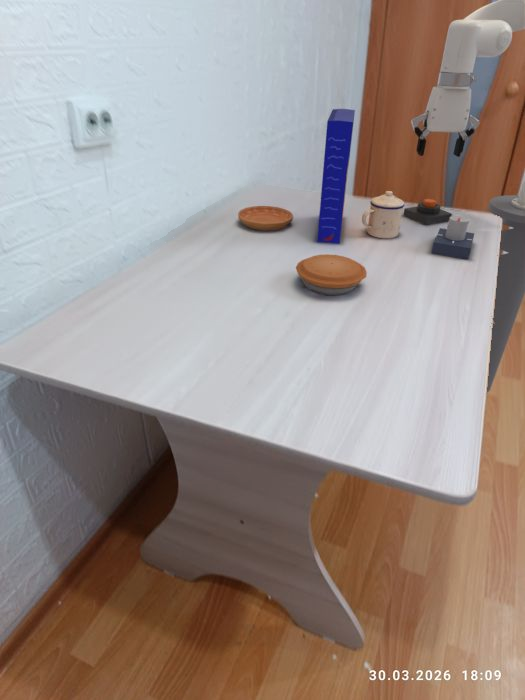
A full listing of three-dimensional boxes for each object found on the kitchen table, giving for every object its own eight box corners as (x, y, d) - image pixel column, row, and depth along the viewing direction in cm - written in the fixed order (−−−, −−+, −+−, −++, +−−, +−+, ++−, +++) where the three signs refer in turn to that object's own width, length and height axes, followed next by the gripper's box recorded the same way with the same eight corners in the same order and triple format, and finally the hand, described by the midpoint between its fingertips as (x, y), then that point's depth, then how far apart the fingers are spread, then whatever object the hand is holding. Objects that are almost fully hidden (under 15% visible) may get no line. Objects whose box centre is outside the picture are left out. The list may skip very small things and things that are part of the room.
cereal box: (339, 243, 128) (353, 120, 112) (317, 241, 129) (327, 119, 113) (342, 218, 146) (355, 109, 130) (323, 216, 147) (332, 108, 131)
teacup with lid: (386, 226, 141) (392, 185, 134) (405, 236, 134) (413, 194, 127) (351, 231, 137) (356, 189, 130) (369, 242, 130) (375, 199, 123)
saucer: (295, 217, 146) (295, 207, 145) (289, 235, 133) (289, 224, 131) (243, 213, 148) (243, 203, 146) (233, 230, 135) (232, 220, 133)
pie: (288, 294, 103) (289, 273, 100) (302, 266, 115) (303, 246, 113) (360, 304, 100) (364, 282, 97) (367, 274, 112) (370, 254, 109)
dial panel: (437, 238, 133) (439, 227, 131) (471, 243, 130) (474, 232, 128) (431, 253, 124) (434, 241, 122) (467, 259, 121) (471, 247, 119)
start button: (429, 203, 148) (430, 198, 147) (437, 207, 145) (438, 201, 144) (420, 205, 147) (421, 199, 146) (428, 208, 144) (430, 202, 143)
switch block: (426, 211, 154) (429, 198, 151) (450, 220, 146) (453, 207, 144) (403, 215, 150) (405, 202, 147) (425, 225, 142) (428, 211, 140)
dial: (446, 233, 128) (451, 213, 125) (465, 236, 126) (470, 216, 124) (444, 238, 124) (448, 218, 121) (463, 241, 123) (468, 221, 120)
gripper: (483, 80, 120) (465, 153, 130) (414, 79, 120) (402, 151, 129) (495, 83, 114) (476, 159, 123) (423, 81, 114) (409, 157, 123)
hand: (438, 155), depth 126 cm, fingers open, 9 cm apart
